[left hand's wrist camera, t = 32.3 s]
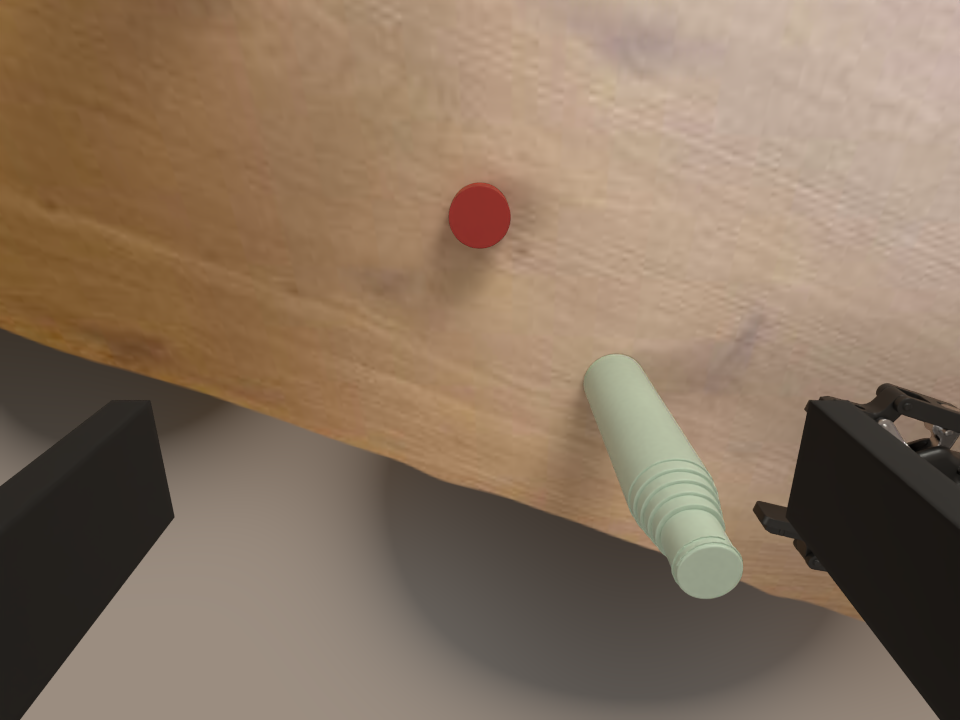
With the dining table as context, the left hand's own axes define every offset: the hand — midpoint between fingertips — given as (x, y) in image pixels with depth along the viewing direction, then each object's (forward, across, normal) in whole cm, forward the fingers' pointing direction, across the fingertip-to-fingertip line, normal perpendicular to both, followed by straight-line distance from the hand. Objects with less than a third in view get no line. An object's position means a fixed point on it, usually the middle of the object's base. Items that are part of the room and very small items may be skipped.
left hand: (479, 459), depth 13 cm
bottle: (+36, +11, -14) cm, 39 cm away
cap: (+34, 0, 0) cm, 34 cm away
